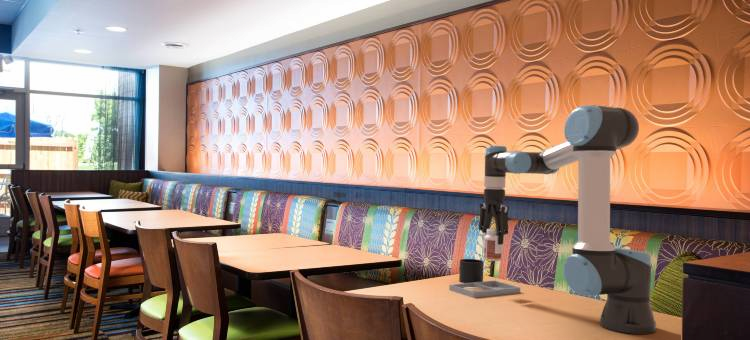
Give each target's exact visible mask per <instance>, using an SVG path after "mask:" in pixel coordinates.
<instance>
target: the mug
mask: <svg viewBox="0 0 750 340" xmlns="http://www.w3.org/2000/svg"><path fill="white" fill-rule="evenodd" d="M458 270H459V274H458V275H459V277H458V279H459V281H458V282H459V283H460V284H464V283H474V282H484V260H482V259H474V258H462V259H459V267H458Z"/></svg>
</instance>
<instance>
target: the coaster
mask: <svg viewBox="0 0 750 340" xmlns="http://www.w3.org/2000/svg"><path fill="white" fill-rule="evenodd" d="M463 289H466V290H470V291H473V292H477V291H484V289H482V288H477V287H465V288H463Z"/></svg>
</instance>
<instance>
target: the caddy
mask: <svg viewBox="0 0 750 340" xmlns="http://www.w3.org/2000/svg"><path fill="white" fill-rule="evenodd" d="M465 287H477V288H482V289H484V291H477V292H473V291H470V290H466V289H463V288H465ZM448 289H449V291H451V292H454V293H457V294H460V295H463V296H466V297H469V298H473V299H475V298H483V297H484V298H485V297H493V296H501V295H510V294H519V293H521V287H520V286H516V285H514V284H509V283H505V282H501V281H499V280H487V281H483V282H474V283H455V284H449V288H448Z"/></svg>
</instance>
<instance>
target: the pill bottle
mask: <svg viewBox="0 0 750 340" xmlns="http://www.w3.org/2000/svg"><path fill="white" fill-rule="evenodd" d="M496 234H497V230H496V228H490V229H487V235H486V236H485V239H484V251H483V260H485V261H491V262H497V261H498V262H499V261H501V259H502V253H500V254H495V236H496Z"/></svg>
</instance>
